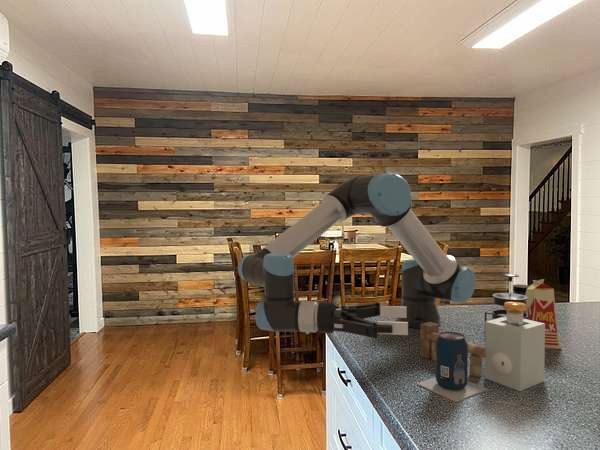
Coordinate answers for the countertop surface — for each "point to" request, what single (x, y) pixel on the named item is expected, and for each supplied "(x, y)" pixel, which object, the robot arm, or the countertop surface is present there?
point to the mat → (455, 396)
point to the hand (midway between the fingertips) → (407, 319)
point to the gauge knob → (515, 313)
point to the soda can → (451, 361)
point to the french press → (506, 300)
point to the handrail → (429, 348)
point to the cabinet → (514, 353)
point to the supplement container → (520, 289)
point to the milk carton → (543, 311)
